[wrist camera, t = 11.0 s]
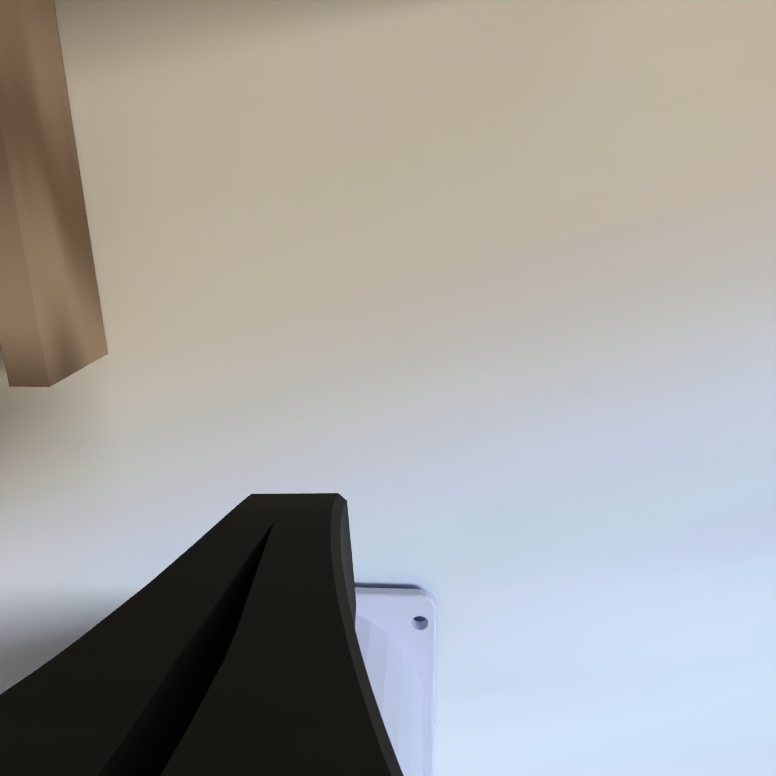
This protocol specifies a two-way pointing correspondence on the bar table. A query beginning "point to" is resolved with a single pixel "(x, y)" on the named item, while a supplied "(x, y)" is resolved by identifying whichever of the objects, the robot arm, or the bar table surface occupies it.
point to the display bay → (42, 209)
